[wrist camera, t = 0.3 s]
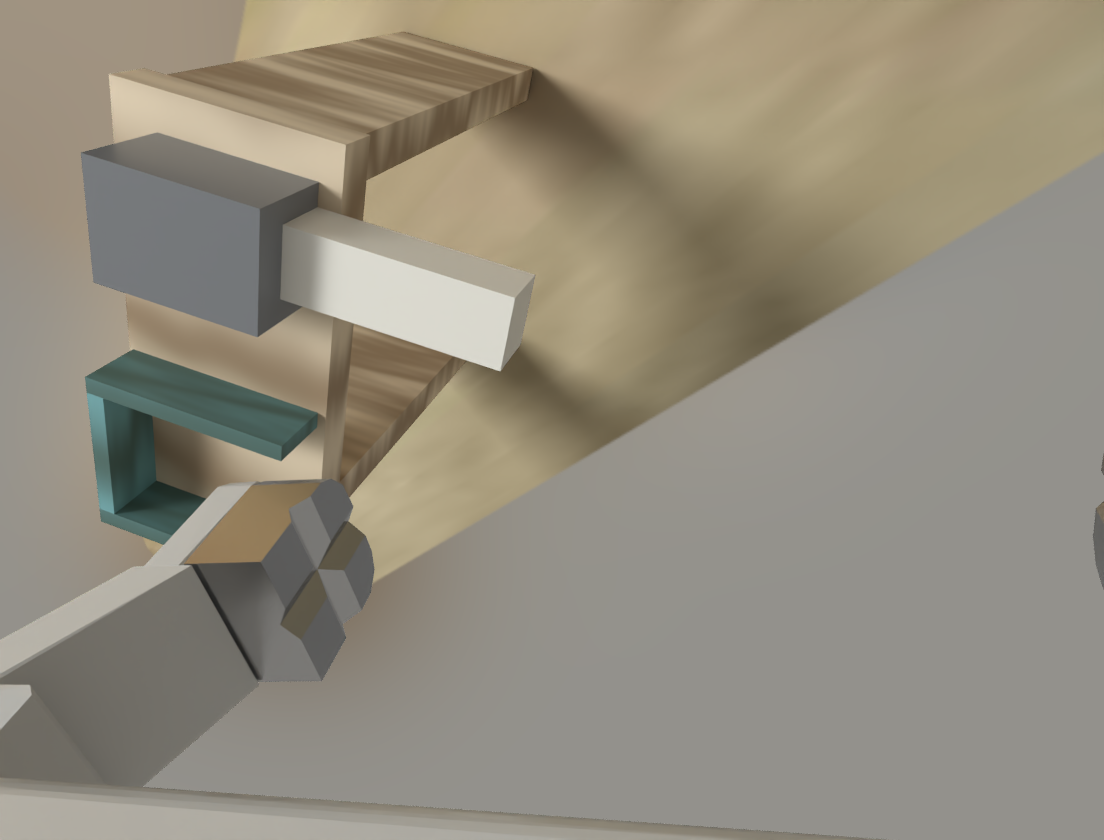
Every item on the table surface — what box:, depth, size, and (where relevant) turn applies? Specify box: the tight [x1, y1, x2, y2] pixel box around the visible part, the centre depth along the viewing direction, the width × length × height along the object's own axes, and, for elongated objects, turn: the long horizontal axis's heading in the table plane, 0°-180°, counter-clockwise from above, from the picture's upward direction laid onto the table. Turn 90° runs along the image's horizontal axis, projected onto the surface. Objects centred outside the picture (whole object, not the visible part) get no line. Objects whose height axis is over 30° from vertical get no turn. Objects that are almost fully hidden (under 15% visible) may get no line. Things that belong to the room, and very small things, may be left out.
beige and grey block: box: [81, 132, 535, 371], centre depth 31 cm, size 16×5×4 cm, turn 77°
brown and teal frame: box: [85, 32, 533, 545], centre depth 46 cm, size 20×10×29 cm, turn 167°
